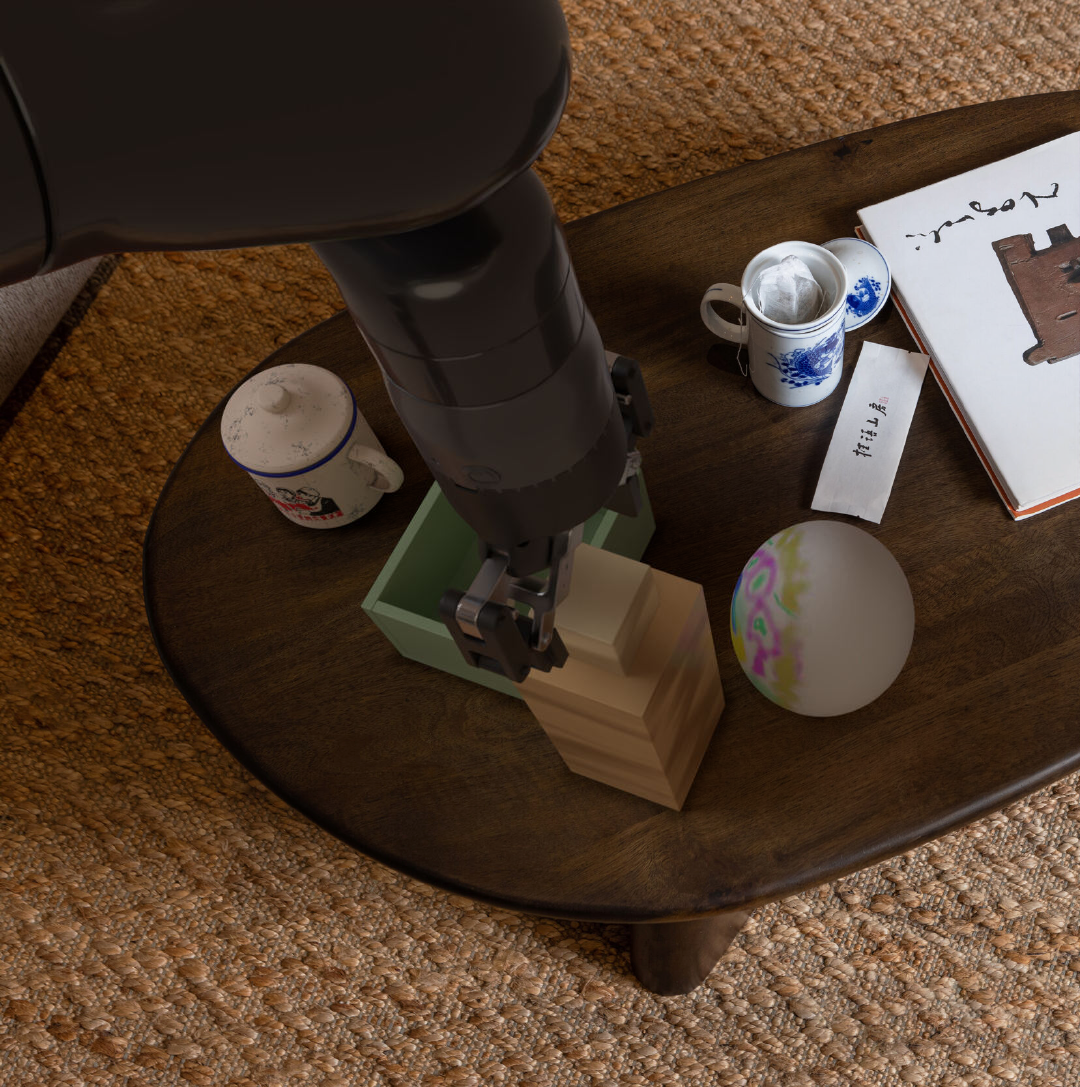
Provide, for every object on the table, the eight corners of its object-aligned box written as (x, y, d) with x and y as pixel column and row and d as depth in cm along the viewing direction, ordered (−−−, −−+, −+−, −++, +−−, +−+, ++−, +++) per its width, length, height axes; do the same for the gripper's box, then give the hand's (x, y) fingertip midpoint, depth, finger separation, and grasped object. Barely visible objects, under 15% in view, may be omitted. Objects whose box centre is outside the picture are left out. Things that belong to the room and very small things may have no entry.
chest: (565, 715, 81) (538, 671, 73) (402, 656, 83) (359, 606, 75) (656, 527, 88) (641, 468, 80) (504, 476, 90) (474, 412, 82)
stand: (680, 812, 78) (642, 717, 61) (570, 771, 80) (501, 666, 62) (725, 704, 82) (702, 584, 64) (620, 666, 83) (568, 538, 65)
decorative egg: (738, 573, 86) (726, 470, 73) (905, 575, 87) (923, 473, 73) (731, 735, 81) (716, 656, 67) (909, 737, 81) (929, 658, 68)
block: (625, 677, 62) (612, 644, 57) (545, 648, 62) (527, 614, 58) (660, 601, 63) (650, 565, 59) (583, 574, 64) (567, 536, 60)
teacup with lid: (247, 511, 88) (172, 427, 77) (312, 414, 92) (249, 322, 81) (390, 562, 86) (333, 484, 76) (450, 462, 90) (403, 374, 80)
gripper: (506, 226, 47) (578, 440, 61) (317, 526, 41) (446, 684, 55) (680, 279, 46) (711, 484, 60) (513, 595, 40) (593, 738, 54)
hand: (585, 580), depth 58 cm, fingers open, 8 cm apart
